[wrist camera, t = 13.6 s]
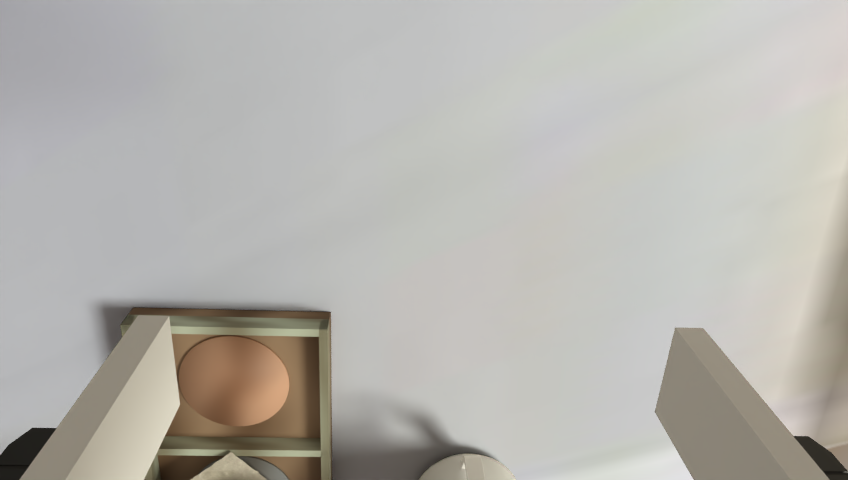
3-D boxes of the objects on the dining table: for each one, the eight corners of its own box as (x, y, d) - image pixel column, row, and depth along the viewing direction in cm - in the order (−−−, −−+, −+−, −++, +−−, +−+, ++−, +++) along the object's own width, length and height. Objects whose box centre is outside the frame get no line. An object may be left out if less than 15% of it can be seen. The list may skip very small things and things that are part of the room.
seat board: (166, 533, 55) (157, 557, 52) (133, 307, 46) (120, 325, 44) (332, 534, 55) (329, 557, 53) (330, 312, 47) (327, 329, 44)
